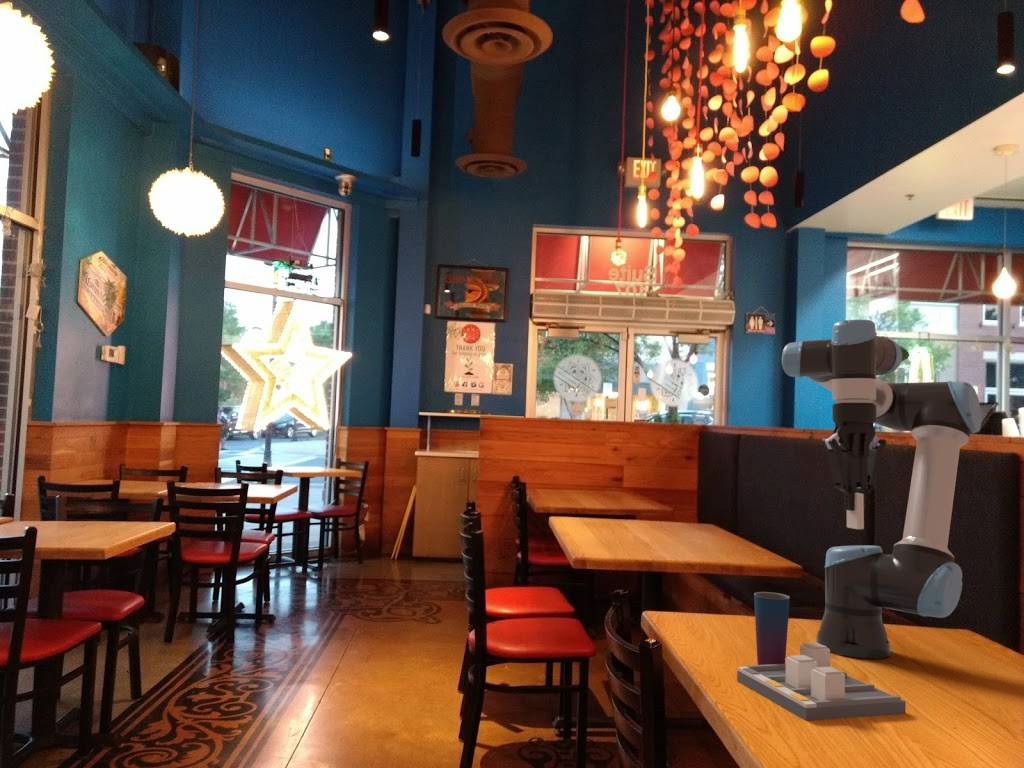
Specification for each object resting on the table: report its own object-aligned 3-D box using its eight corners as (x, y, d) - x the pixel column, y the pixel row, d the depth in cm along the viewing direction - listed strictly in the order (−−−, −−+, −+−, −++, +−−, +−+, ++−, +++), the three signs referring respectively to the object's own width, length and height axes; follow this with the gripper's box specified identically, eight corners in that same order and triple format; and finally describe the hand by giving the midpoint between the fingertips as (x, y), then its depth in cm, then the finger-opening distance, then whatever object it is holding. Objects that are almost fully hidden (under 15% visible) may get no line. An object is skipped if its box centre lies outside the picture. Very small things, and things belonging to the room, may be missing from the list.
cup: (791, 679, 143) (792, 600, 144) (754, 675, 144) (755, 597, 145) (786, 668, 149) (787, 593, 150) (751, 665, 151) (752, 590, 152)
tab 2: (830, 694, 128) (830, 665, 128) (844, 701, 125) (844, 672, 125) (810, 696, 127) (811, 666, 127) (824, 703, 124) (825, 673, 124)
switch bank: (826, 676, 146) (826, 661, 146) (905, 713, 126) (905, 696, 127) (737, 681, 140) (737, 665, 140) (806, 720, 121) (806, 703, 121)
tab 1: (817, 667, 144) (817, 642, 144) (829, 673, 140) (830, 647, 141) (799, 668, 143) (800, 642, 143) (811, 674, 139) (812, 648, 140)
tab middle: (804, 681, 135) (804, 654, 135) (817, 688, 131) (817, 659, 132) (785, 682, 134) (785, 655, 134) (797, 689, 130) (798, 660, 131)
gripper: (867, 403, 144) (868, 524, 143) (811, 401, 141) (812, 526, 139) (897, 402, 137) (899, 530, 136) (839, 400, 133) (840, 532, 132)
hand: (855, 528), depth 138 cm, fingers closed
